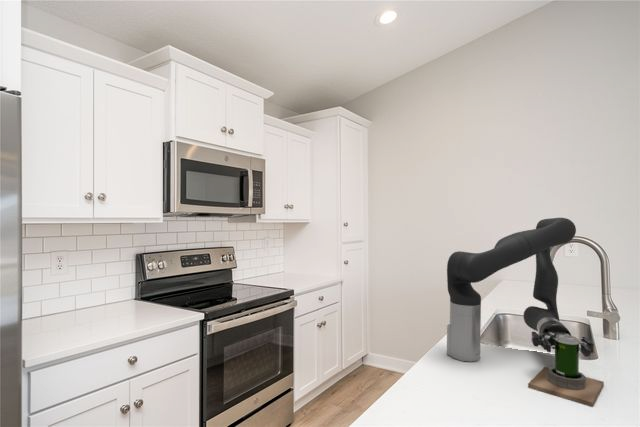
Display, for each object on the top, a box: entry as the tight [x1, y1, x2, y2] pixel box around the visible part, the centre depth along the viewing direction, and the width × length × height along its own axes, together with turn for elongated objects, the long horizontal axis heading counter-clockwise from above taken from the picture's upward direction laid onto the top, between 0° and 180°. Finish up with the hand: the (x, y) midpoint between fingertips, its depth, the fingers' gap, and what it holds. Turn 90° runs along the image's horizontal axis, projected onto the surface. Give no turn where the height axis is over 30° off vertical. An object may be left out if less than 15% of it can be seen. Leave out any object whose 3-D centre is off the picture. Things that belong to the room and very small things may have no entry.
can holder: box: [527, 366, 605, 408], centre depth 101 cm, size 14×16×4 cm
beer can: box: [554, 334, 580, 379], centre depth 101 cm, size 5×5×12 cm
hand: (568, 350), depth 100 cm, fingers open, 8 cm apart
